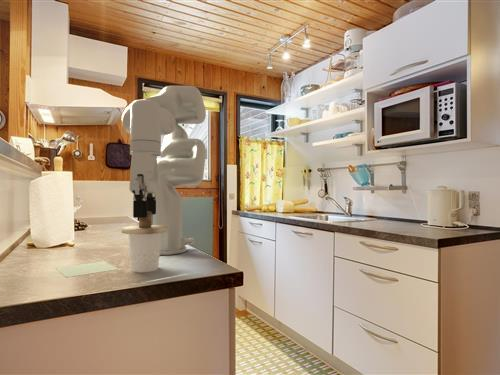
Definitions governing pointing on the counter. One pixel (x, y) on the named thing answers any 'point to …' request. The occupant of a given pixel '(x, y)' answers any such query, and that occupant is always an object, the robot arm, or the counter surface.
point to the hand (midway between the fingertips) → (145, 215)
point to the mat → (86, 269)
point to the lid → (144, 227)
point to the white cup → (144, 252)
